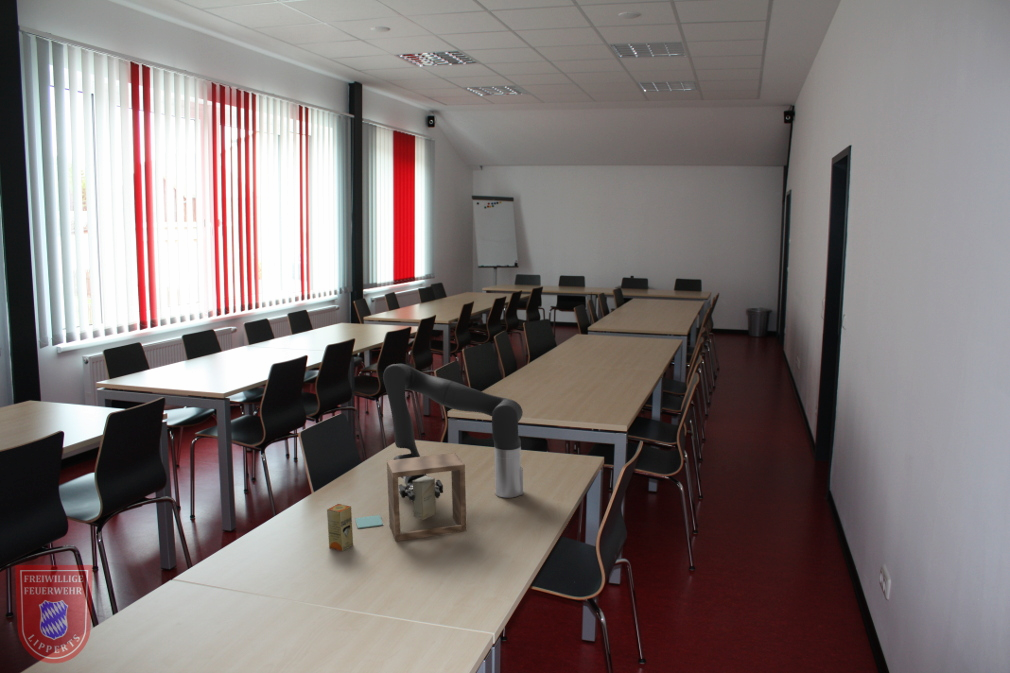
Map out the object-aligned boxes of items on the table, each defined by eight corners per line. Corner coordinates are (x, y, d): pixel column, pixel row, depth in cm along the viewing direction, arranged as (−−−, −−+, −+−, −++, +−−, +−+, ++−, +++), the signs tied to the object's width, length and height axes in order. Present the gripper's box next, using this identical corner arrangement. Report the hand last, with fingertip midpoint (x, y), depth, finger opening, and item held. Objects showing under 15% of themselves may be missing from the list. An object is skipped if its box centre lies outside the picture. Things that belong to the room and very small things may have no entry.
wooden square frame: (457, 516, 237) (455, 452, 234) (466, 531, 226) (464, 464, 222) (389, 525, 230) (386, 460, 227) (395, 541, 219) (392, 472, 216)
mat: (379, 516, 238) (379, 514, 238) (383, 525, 231) (383, 524, 231) (355, 519, 236) (355, 518, 236) (357, 528, 229) (357, 527, 228)
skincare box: (423, 520, 228) (421, 483, 226) (413, 517, 231) (411, 480, 229) (436, 513, 233) (435, 477, 231) (426, 510, 236) (425, 474, 234)
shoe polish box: (329, 547, 215) (327, 509, 214) (340, 541, 220) (338, 503, 218) (342, 551, 213) (340, 512, 211) (353, 544, 217) (351, 506, 216)
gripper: (394, 471, 241) (402, 488, 226) (436, 466, 246) (447, 482, 230) (395, 492, 243) (403, 511, 227) (437, 487, 247) (448, 505, 231)
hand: (425, 496), depth 229 cm, fingers closed on skincare box, 7 cm apart
